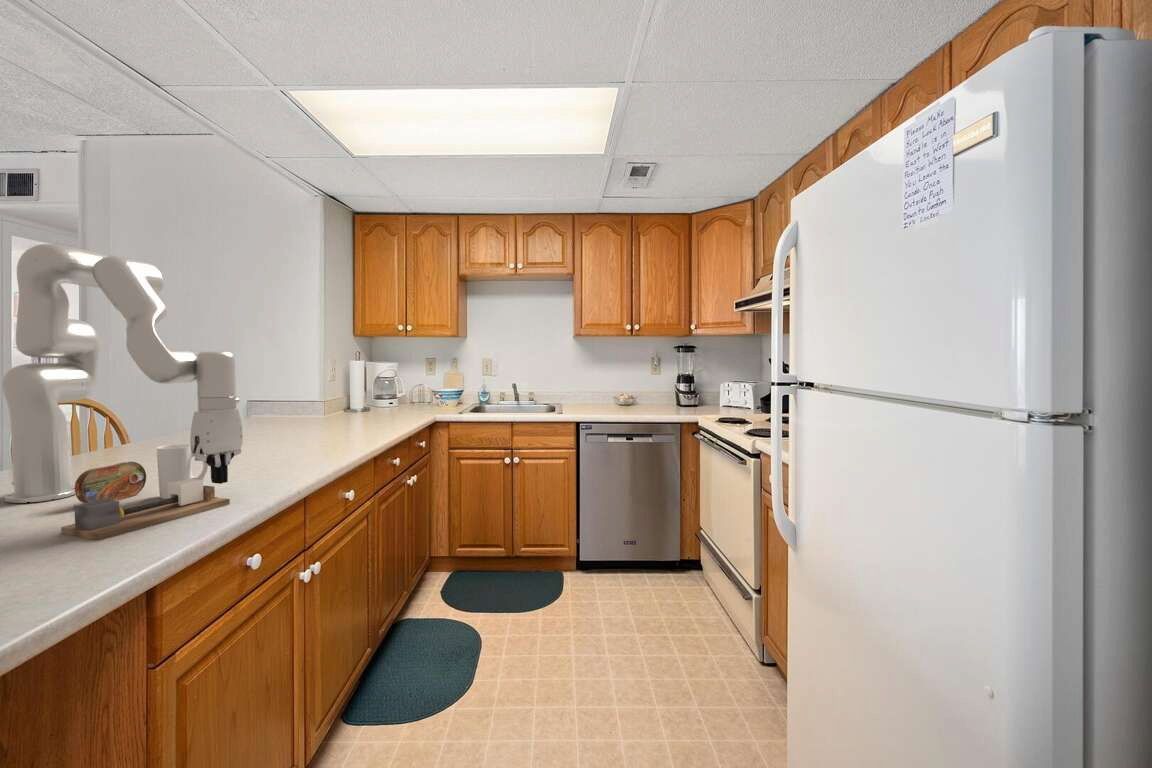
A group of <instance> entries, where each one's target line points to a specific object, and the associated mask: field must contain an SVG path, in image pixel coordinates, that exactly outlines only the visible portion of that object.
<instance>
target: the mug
mask: <svg viewBox="0 0 1152 768" xmlns="http://www.w3.org/2000/svg"><path fill="white" fill-rule="evenodd" d="M204 455H205V454H204ZM205 456H206V455H205ZM194 457H195V454H193V453H191V449H190V443H189V444H188V443H183V444H182V443H180V444H166V445H160V446H157V447H156V458H157V459H156V461H157V475H158V490H159V498H160V499H161V500H164V499H168V483H173V482H177V481H182V480H187V479H197V480H203V481H204V479H205V477H206V474H207V473H208V469H209V466H208V464H207V463H206V462H205V461H202V465H203V466H202V470H201V473H200V474H199V475H197V476H193V474H192V473H193V472H192V471H193V470H192V464H193V463H192V458H194Z"/></svg>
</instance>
